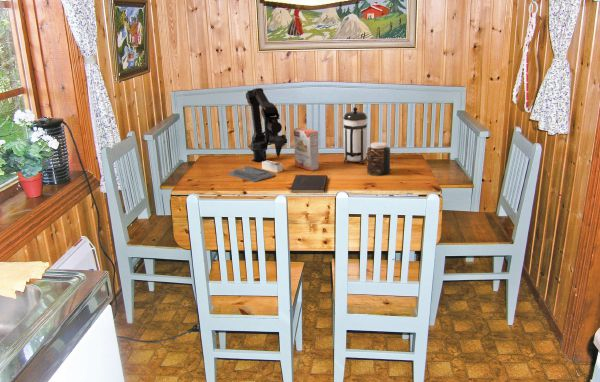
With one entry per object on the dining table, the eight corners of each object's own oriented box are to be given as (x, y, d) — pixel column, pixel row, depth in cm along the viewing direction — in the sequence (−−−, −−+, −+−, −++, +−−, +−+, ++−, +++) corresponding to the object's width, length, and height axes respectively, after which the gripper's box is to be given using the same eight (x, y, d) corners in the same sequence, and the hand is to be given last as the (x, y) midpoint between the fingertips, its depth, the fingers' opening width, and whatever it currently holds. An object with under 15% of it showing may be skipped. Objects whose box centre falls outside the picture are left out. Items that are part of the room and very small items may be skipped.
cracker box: (294, 166, 303) (293, 128, 297) (303, 164, 307) (302, 126, 300) (310, 171, 293) (309, 132, 286) (319, 169, 296) (318, 130, 290)
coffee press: (335, 160, 312) (334, 107, 302) (360, 156, 318) (360, 104, 309) (350, 167, 297) (350, 111, 287) (376, 163, 303) (377, 108, 294)
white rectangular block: (262, 169, 302) (261, 161, 300) (267, 167, 304) (267, 159, 303) (277, 172, 293) (276, 165, 292) (282, 171, 296) (282, 163, 295)
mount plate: (228, 174, 293) (227, 169, 292) (249, 168, 302) (248, 164, 301) (254, 182, 278) (253, 176, 277) (275, 175, 287) (274, 170, 286)
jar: (389, 176, 280) (389, 146, 276) (366, 175, 282) (366, 146, 278) (390, 169, 291) (391, 141, 286) (368, 169, 293) (368, 141, 289)
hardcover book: (290, 193, 260) (290, 189, 260) (295, 179, 282) (295, 175, 281) (324, 193, 259) (324, 189, 258) (327, 179, 280) (327, 174, 280)
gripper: (266, 134, 281) (268, 165, 285) (293, 128, 293) (294, 157, 298) (252, 132, 288) (254, 161, 293) (279, 126, 300) (280, 154, 305)
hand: (271, 158), depth 297 cm, fingers open, 9 cm apart
